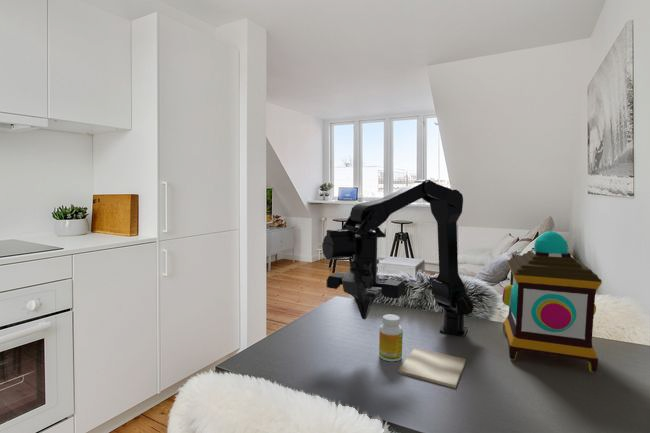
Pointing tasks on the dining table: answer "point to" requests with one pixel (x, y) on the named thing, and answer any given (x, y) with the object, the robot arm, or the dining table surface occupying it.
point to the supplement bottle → (390, 338)
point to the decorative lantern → (551, 302)
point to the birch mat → (433, 367)
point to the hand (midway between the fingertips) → (364, 318)
